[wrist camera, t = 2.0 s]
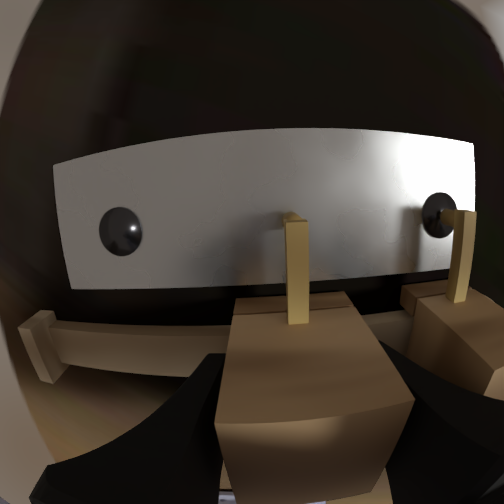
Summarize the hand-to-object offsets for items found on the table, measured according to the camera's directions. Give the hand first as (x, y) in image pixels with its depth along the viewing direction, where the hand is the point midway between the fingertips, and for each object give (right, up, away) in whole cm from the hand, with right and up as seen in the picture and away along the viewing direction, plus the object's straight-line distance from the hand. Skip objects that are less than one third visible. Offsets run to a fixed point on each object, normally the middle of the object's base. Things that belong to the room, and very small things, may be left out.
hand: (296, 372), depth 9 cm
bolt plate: (-1, +6, 0) cm, 6 cm away
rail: (-1, 0, +2) cm, 2 cm away
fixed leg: (+6, +2, +1) cm, 6 cm away
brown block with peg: (0, +2, +1) cm, 2 cm away
